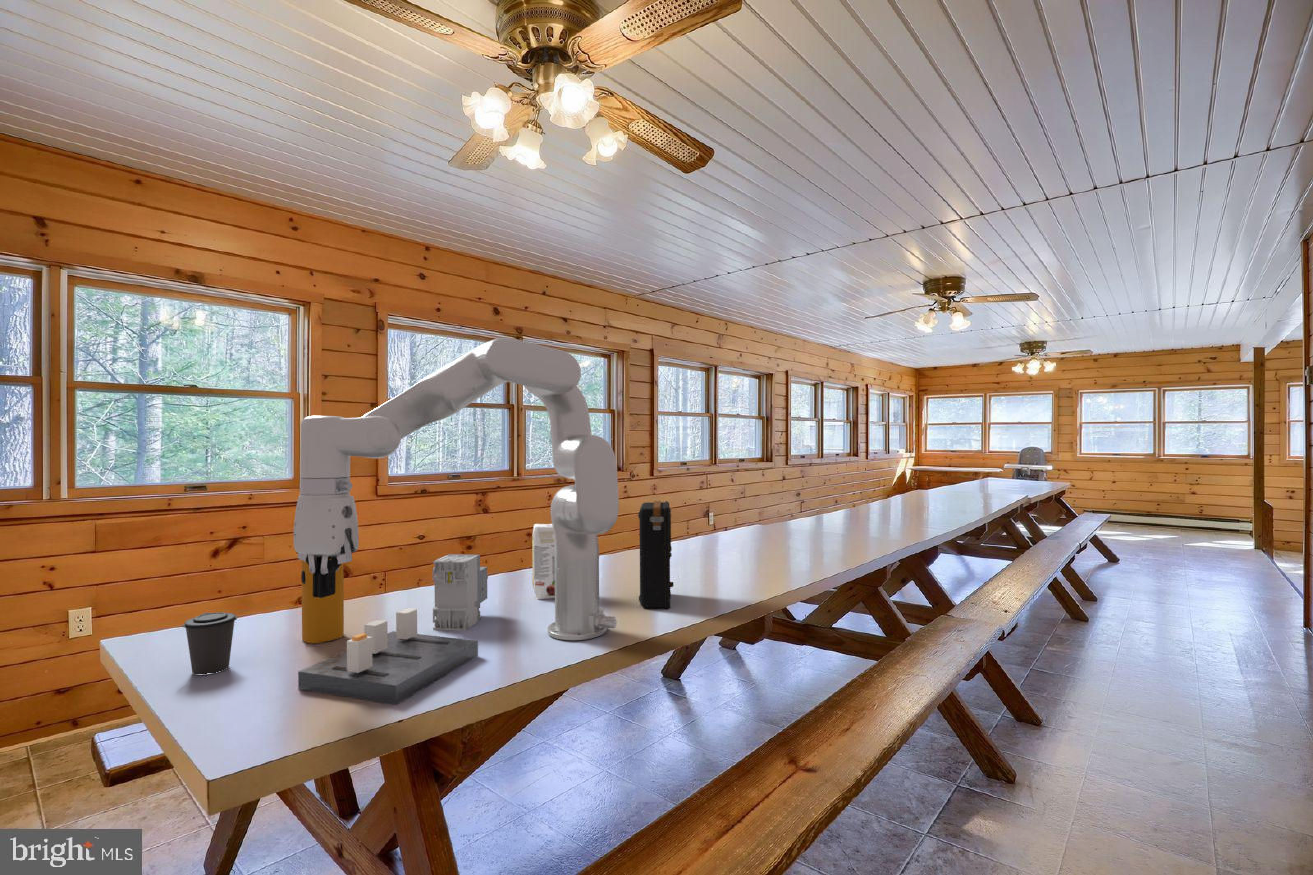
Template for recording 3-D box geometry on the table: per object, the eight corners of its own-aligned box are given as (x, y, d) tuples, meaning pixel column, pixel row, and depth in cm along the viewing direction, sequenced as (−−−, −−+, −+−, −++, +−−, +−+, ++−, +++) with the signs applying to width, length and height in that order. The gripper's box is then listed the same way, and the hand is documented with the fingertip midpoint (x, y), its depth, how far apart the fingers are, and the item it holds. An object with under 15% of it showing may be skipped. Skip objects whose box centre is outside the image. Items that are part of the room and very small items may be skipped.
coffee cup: (206, 661, 115) (206, 608, 115) (248, 661, 114) (248, 608, 114) (170, 678, 106) (170, 621, 106) (215, 678, 106) (215, 621, 106)
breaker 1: (387, 648, 111) (387, 621, 111) (375, 653, 108) (375, 625, 108) (377, 646, 112) (376, 619, 112) (364, 652, 109) (364, 624, 109)
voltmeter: (674, 610, 147) (673, 507, 147) (638, 610, 147) (637, 507, 147) (673, 593, 162) (672, 500, 162) (640, 593, 162) (640, 500, 162)
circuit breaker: (490, 611, 146) (489, 549, 146) (465, 630, 132) (465, 561, 132) (460, 611, 147) (459, 549, 147) (432, 629, 133) (432, 561, 133)
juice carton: (567, 598, 158) (567, 525, 158) (534, 600, 156) (533, 527, 156) (563, 591, 165) (563, 521, 165) (531, 593, 163) (531, 523, 163)
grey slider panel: (477, 656, 116) (477, 640, 116) (396, 704, 95) (395, 684, 95) (392, 646, 122) (392, 630, 122) (298, 689, 101) (298, 670, 101)
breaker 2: (417, 634, 119) (417, 609, 119) (406, 639, 116) (406, 613, 116) (407, 633, 120) (407, 608, 120) (396, 638, 117) (396, 612, 117)
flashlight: (356, 514, 128) (304, 519, 121) (357, 637, 128) (305, 649, 121) (338, 511, 135) (288, 515, 128) (339, 627, 135) (289, 638, 128)
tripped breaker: (372, 666, 102) (372, 633, 102) (358, 672, 99) (358, 638, 99) (361, 664, 103) (360, 631, 103) (347, 671, 100) (346, 637, 100)
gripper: (377, 487, 105) (376, 594, 104) (310, 485, 109) (308, 587, 109) (342, 491, 98) (341, 605, 97) (272, 488, 102) (270, 597, 102)
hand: (324, 595), depth 103 cm, fingers closed
